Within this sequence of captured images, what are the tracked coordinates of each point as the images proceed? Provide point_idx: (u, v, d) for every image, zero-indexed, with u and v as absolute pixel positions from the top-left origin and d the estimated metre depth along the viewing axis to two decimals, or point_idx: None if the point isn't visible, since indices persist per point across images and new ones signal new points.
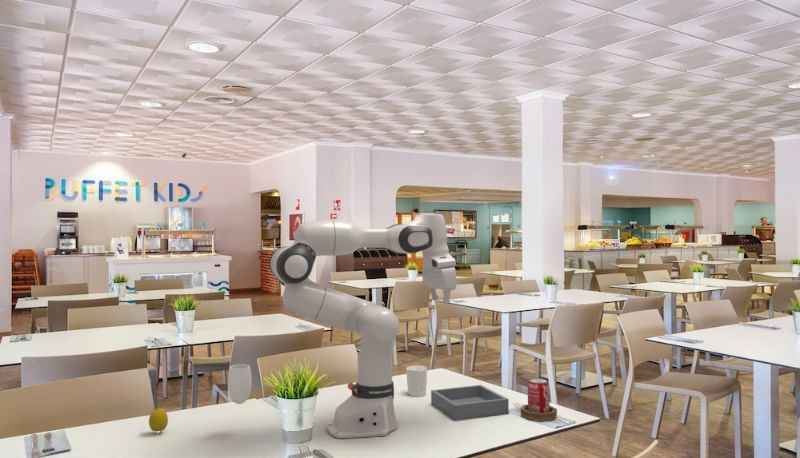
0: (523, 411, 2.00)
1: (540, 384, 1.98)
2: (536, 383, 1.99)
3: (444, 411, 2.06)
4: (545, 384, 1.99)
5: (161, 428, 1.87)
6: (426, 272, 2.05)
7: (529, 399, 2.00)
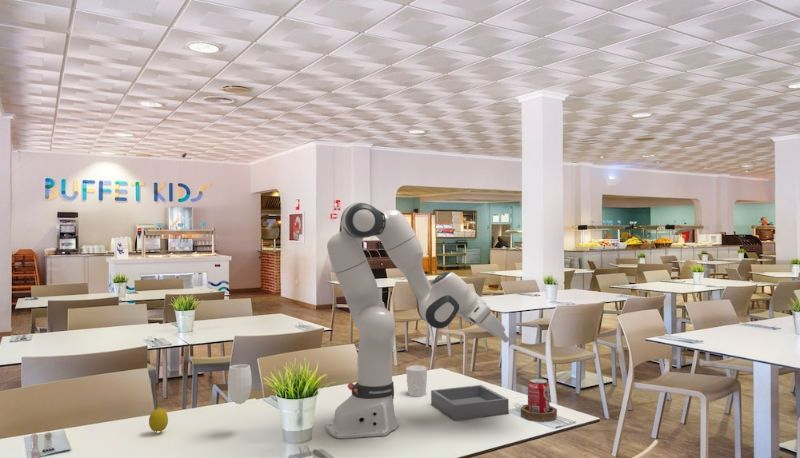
0: (523, 411, 2.00)
1: (540, 384, 1.98)
2: (536, 383, 1.99)
3: (444, 411, 2.06)
4: (545, 384, 1.99)
5: (161, 428, 1.87)
6: None
7: (529, 399, 2.00)
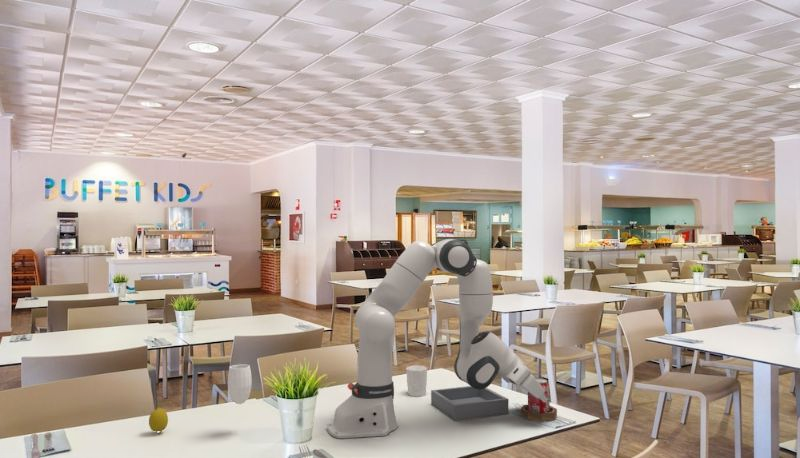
0: (523, 411, 2.00)
1: (540, 384, 1.98)
2: None
3: (444, 411, 2.06)
4: (545, 384, 1.99)
5: (161, 428, 1.87)
6: None
7: (529, 399, 2.00)
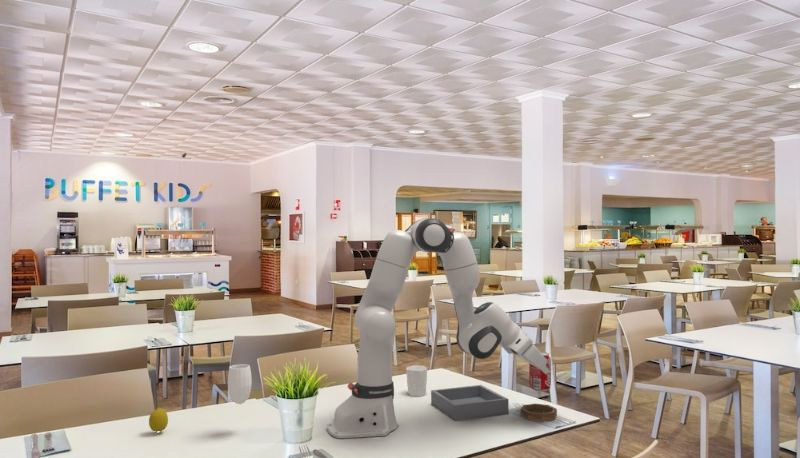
0: (523, 411, 2.00)
1: None
2: None
3: (444, 411, 2.06)
4: (547, 357, 1.99)
5: (161, 428, 1.87)
6: None
7: (530, 372, 2.00)
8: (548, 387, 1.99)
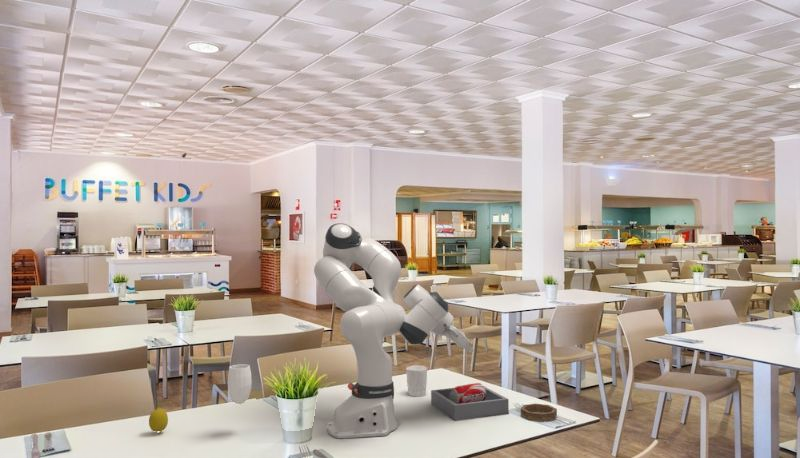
0: (523, 411, 2.00)
1: None
2: None
3: (444, 411, 2.06)
4: None
5: (161, 428, 1.87)
6: None
7: None
8: None
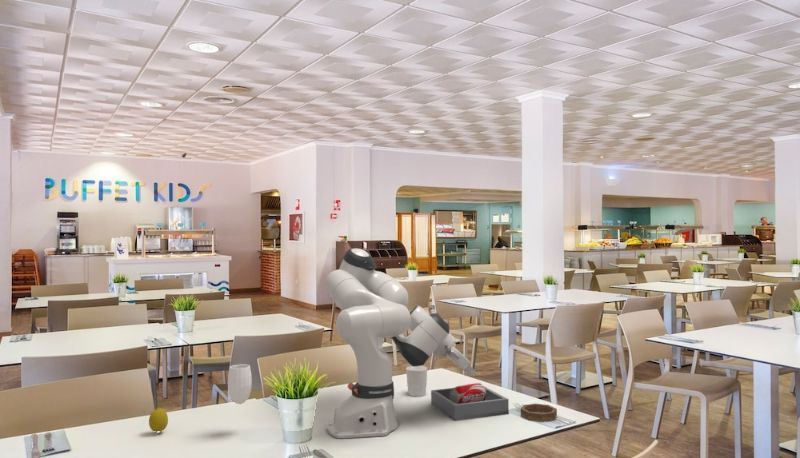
0: (523, 411, 2.00)
1: None
2: None
3: (444, 411, 2.06)
4: None
5: (161, 428, 1.87)
6: None
7: None
8: None
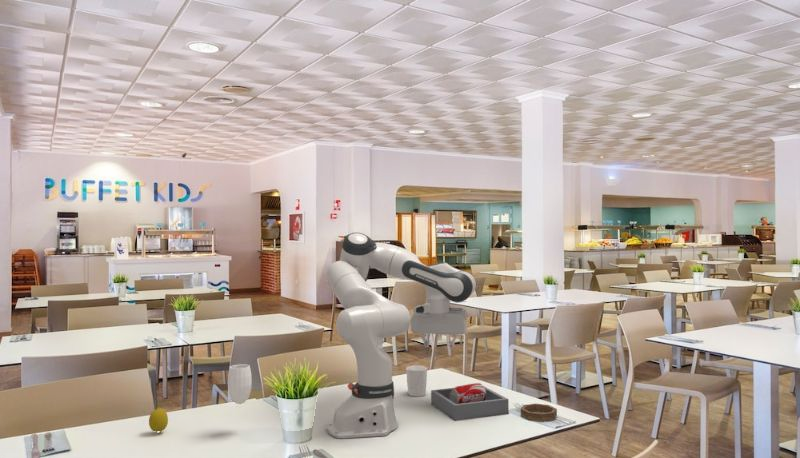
0: (523, 411, 2.00)
1: None
2: None
3: (444, 411, 2.06)
4: None
5: (161, 428, 1.87)
6: None
7: None
8: None
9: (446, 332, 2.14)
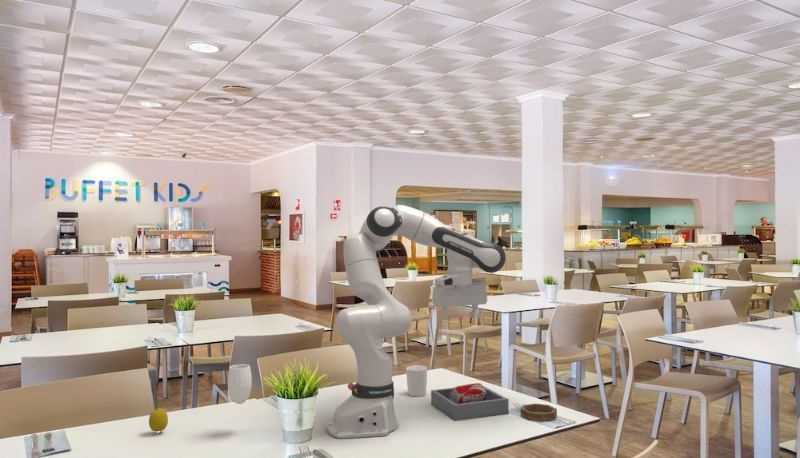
0: (523, 411, 2.00)
1: None
2: None
3: (444, 411, 2.06)
4: None
5: (161, 428, 1.87)
6: None
7: None
8: None
9: (470, 303, 2.13)
